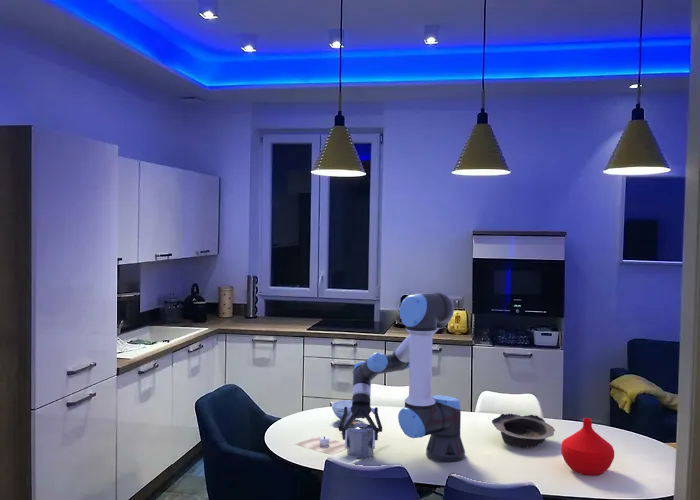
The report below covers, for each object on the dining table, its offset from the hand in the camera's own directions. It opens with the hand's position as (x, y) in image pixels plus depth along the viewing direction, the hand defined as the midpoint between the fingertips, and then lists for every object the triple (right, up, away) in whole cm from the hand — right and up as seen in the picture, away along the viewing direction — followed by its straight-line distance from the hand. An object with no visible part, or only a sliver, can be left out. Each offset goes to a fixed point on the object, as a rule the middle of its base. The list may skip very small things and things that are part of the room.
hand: (359, 447), depth 243 cm
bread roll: (-2, -4, +26) cm, 27 cm away
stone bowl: (+69, -4, +17) cm, 71 cm away
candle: (-14, -3, +12) cm, 19 cm away
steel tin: (0, -4, +3) cm, 5 cm away
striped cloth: (-14, -4, +12) cm, 19 cm away
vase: (+83, -4, -15) cm, 85 cm away
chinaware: (-5, -3, +48) cm, 48 cm away
